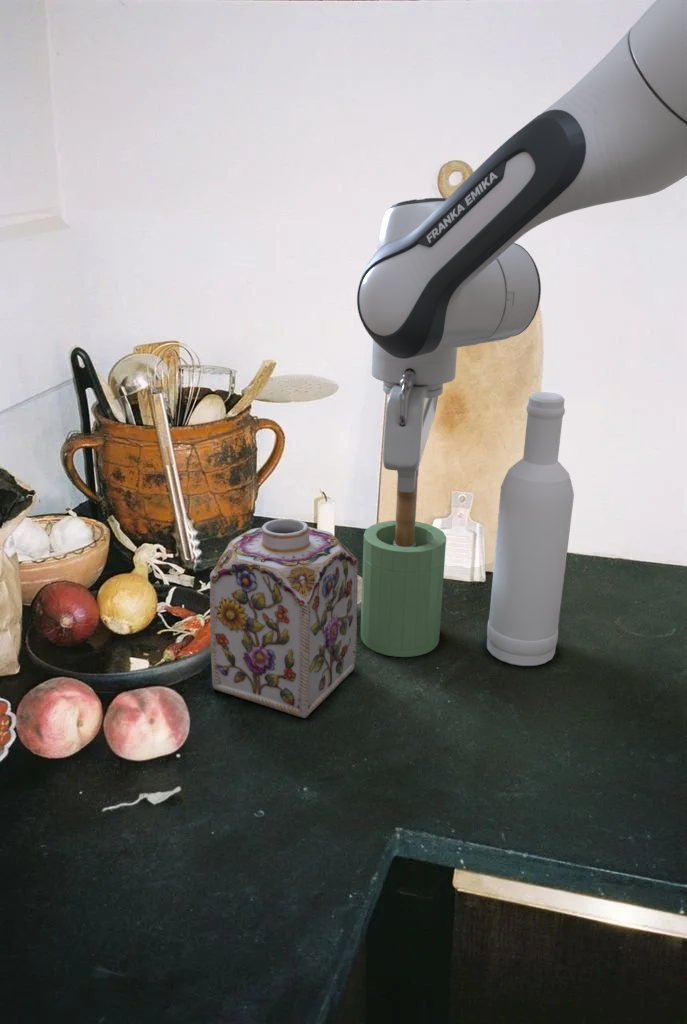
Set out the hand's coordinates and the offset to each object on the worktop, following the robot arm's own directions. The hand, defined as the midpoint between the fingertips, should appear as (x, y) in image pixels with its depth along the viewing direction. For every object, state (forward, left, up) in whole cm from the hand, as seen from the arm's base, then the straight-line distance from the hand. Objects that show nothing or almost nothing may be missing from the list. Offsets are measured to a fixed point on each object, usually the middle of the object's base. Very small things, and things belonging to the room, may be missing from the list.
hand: (408, 484), depth 103 cm
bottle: (-14, 0, -19) cm, 24 cm away
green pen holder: (0, 0, -19) cm, 19 cm away
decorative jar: (+11, +12, -19) cm, 25 cm away
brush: (0, 0, -13) cm, 13 cm away
